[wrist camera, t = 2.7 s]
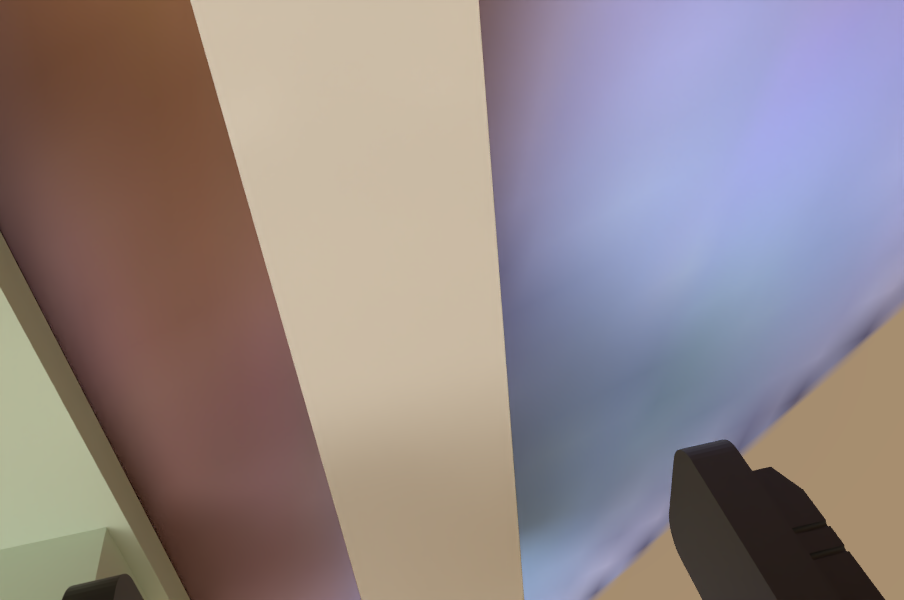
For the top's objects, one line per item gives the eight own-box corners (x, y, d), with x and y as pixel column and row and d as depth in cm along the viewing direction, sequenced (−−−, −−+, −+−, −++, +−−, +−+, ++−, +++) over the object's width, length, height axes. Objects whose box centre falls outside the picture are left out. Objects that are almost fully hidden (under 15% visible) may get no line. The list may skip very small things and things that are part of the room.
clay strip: (177, -212, 12) (135, -192, 8) (405, -240, 12) (460, -233, 9) (368, 535, 23) (386, 686, 19) (487, 510, 23) (528, 654, 19)
